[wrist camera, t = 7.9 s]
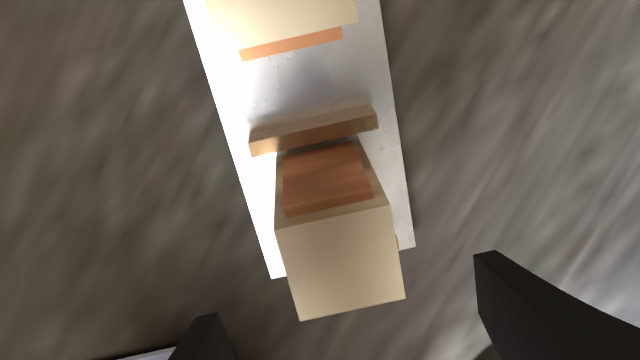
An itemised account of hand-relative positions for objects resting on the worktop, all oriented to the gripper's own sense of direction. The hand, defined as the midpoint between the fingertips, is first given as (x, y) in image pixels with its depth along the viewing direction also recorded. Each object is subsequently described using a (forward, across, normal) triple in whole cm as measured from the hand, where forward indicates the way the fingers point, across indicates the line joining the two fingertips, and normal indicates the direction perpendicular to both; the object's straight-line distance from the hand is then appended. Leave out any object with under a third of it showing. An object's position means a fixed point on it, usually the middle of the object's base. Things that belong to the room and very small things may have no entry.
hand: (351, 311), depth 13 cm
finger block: (+8, 0, 0) cm, 8 cm away
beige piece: (+9, 0, -4) cm, 10 cm away
